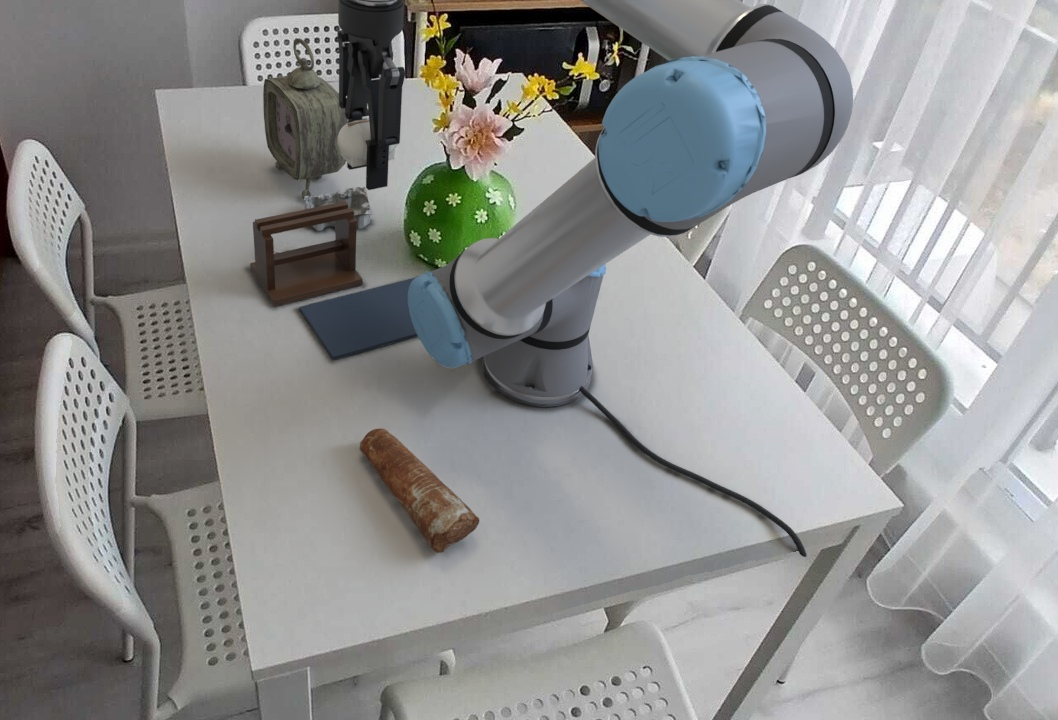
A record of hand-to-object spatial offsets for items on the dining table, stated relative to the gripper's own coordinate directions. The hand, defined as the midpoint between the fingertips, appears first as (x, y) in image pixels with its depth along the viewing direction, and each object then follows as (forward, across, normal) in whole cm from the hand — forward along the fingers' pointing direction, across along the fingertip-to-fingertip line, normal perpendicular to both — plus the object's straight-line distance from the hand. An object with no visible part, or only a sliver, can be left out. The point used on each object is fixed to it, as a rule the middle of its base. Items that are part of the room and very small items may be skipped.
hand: (367, 176), depth 117 cm
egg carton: (+22, -24, +7) cm, 33 cm away
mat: (+22, +2, +1) cm, 22 cm away
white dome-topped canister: (-3, 0, 0) cm, 3 cm away
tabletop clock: (+22, -36, +7) cm, 43 cm away
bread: (+23, +34, -11) cm, 43 cm away
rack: (+22, -10, -4) cm, 25 cm away
